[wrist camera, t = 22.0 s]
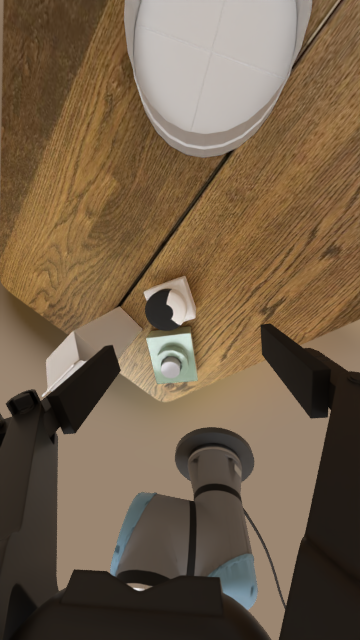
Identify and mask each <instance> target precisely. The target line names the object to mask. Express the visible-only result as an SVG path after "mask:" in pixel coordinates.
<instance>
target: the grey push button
mask: <svg viewBox="0 0 360 640" xmlns="http://www.w3.org/2000/svg"><path fill="white" fill-rule="evenodd" d="M180 367H181V363H180V361H179V359H177V358H176V357H173V356H169V357H167V358H165V359H164V360H163V363H162V366H161V372H162V374H163V375H164V376H165V377H167V378H175V377H177V376H178V375H179V373H180Z"/></svg>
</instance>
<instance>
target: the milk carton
mask: <svg viewBox="0 0 360 640" xmlns="http://www.w3.org/2000/svg"><path fill="white" fill-rule="evenodd" d="M142 330H143V329H142V328H141V327H140V326H139V325H138V324H137V323H136V322H135V321H134V320H133V319H132V318H131V317H130V316H129V315H128V314H127V313H126V312H125V311H124V310H123V309H122V308H121V307H120V306H119V307H117V308H115V309H114V310H112V311H110V312H108V313H106V314H104V315H102V316H100V317H98V318H97V319H95V320H93V321H91V322H89V323H87V324H85V325H83V326H81V327H80V328H78V329H76V330H74V331H73V332H72V333H71V334H70V335H69V336H68V337H67V338H66V339H65V340H64V341H63V342H62V343H61V344H60V346H59V347H58V348H57V349H56V350H55V351H54V352H53V353H52V354H51V355H50V356H49V358H48V359H47V360H46V370H47V382H48V390H47V391H46V392H45V393H44V394H43V395H42V396H44V395H45V394H46V393H48V392H49V391H53V390H55V389H56V388H57V387H58V386H59V385H60V384H61V383H63V382H64V381H65V380H66V379H67V378H68V377H70V376H71V375H72V374H73V373H74V372H75V371H77V370H78V369H79V368H80V367H81V366H82V365H83V364H85V363H86V362H87V361H88V360H89V359H90V358H92V357H93V356H94V355H95V354H96V353H97V352H98V351H100V350H101V349H102V348H103V347H104V346H107V345H113V347H114V350H115V354H116V357H117V360H118V359H119V358H120V356H121V355H122V354H123V353H124V352H125V350H126V349H127V348H128V347H129V346H130V344H131V343H132V342H133V341H134V340H135V338H136V337H137V336H138V335H139V333H140V332H141V331H142Z"/></svg>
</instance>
